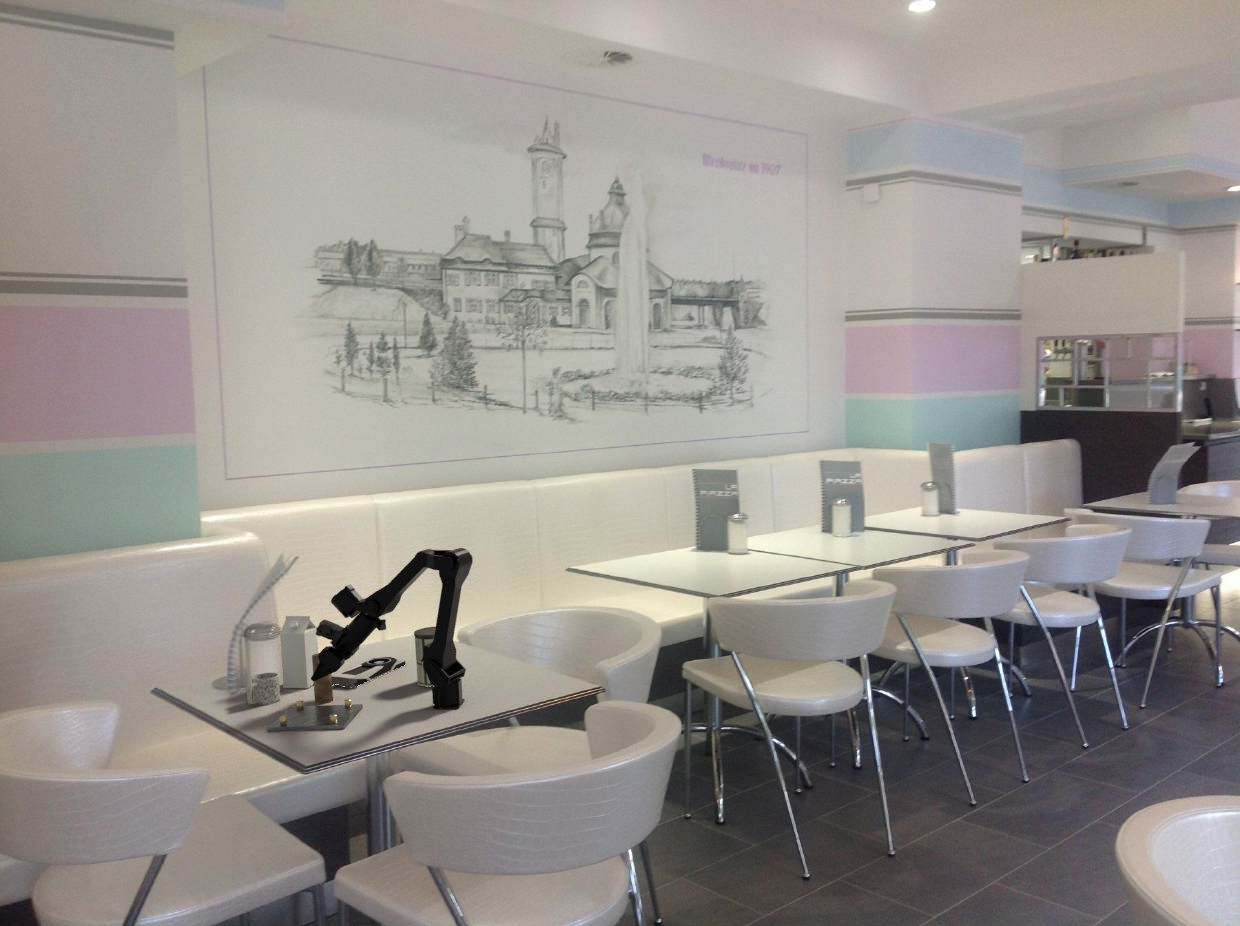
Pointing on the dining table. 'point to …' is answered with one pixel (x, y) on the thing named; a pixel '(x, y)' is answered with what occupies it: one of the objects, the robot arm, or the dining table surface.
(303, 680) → the milk carton
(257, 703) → the mug
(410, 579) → the robot arm
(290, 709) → the base plate
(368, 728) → the dining table surface
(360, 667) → the graphics card
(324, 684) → the walnut column
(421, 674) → the coffee can
